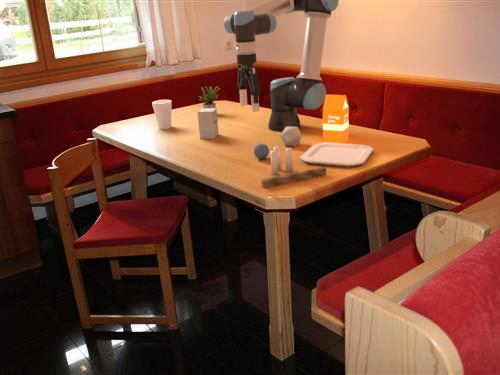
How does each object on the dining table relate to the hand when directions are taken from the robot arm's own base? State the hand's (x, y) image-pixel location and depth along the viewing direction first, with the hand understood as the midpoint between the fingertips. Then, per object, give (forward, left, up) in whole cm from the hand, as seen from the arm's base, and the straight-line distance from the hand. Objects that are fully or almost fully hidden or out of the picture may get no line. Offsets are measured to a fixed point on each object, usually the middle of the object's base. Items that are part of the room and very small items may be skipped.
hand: (249, 108), depth 209 cm
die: (-18, 0, -19) cm, 26 cm away
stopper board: (0, +39, -18) cm, 43 cm away
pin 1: (+3, +29, -18) cm, 34 cm away
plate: (-26, +24, -19) cm, 40 cm away
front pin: (0, +25, -18) cm, 31 cm away
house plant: (-7, -74, -19) cm, 77 cm away
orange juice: (-36, +6, -19) cm, 41 cm away
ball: (0, +10, -15) cm, 18 cm away
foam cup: (+22, -63, -19) cm, 70 cm away
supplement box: (+8, -33, -19) cm, 39 cm away
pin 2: (-3, +29, -18) cm, 34 cm away
